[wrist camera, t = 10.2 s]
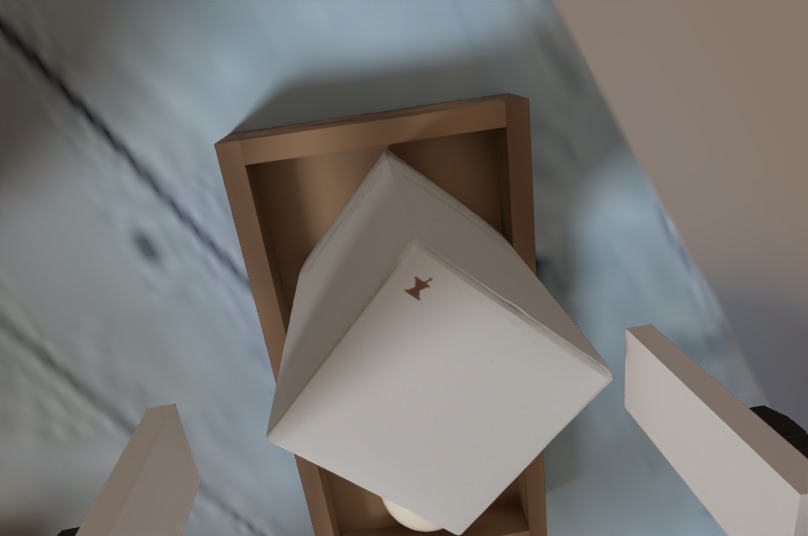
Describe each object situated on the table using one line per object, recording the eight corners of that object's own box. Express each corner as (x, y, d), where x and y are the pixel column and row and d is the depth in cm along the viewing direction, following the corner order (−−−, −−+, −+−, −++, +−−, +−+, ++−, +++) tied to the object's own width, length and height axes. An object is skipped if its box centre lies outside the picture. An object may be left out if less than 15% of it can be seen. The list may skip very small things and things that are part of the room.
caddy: (328, 535, 35) (326, 578, 32) (229, 133, 25) (214, 144, 22) (531, 501, 35) (546, 540, 32) (509, 93, 25) (528, 98, 23)
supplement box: (295, 268, 27) (251, 439, 15) (386, 144, 25) (417, 229, 13) (415, 344, 29) (458, 546, 17) (507, 234, 27) (626, 377, 15)
